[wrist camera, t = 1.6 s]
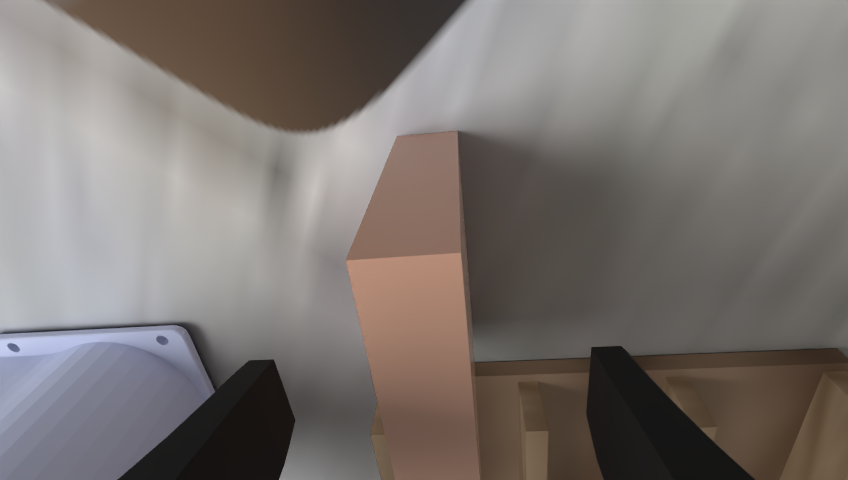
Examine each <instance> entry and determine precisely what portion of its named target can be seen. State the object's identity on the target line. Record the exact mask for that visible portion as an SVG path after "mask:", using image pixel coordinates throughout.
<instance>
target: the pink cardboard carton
mask: <svg viewBox="0 0 848 480" xmlns="http://www.w3.org/2000/svg"><path fill="white" fill-rule="evenodd" d="M346 264H347V268H348V273H349V277H350V282H351V286H352V290H353V295H354V299H355V304H356V308H357V313H358V317H359V322H360V326H361V331H362V335H363V340H364V344H365V349H366V353H367V358H368V362H369V366H370V371H371V375H372V380H373V384H374V389H375V393H376V398H377V402H378V407H379V411H380V416H381V420H382V425H383V429H384V434H385V438H386V443H387V447H388V451H389V456H390V460H391V465H392V469H393V474H394V478H395V480H481V467H480V450H479V432H478V415H477V397H476V380H475V362H474V345H473V327H472V314H471V301H470V288H469V275H468V262H467V249H466V236H465V223H464V209H463V196H462V183H461V170H460V157H459V144H458V131H449V132H439V133H428V134H417V135H407V136H397V137H396V140H395V142H394V145H393V147H392V149H391V152H390V154H389V157H388V159H387V162H386V164H385V166H384V169H383V171H382V174H381V176H380V179H379V181H378V184H377V186H376V188H375V191H374V193H373V196H372V198H371V201H370V203H369V205H368V208H367V210H366V213H365V215H364V218H363V220H362V222H361V225H360V227H359V230H358V232H357V235H356V237H355V239H354V242H353V244H352V247H351V249H350V252H349V254H348V256H347V259H346Z"/></svg>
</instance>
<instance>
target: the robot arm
mask: <svg viewBox="0 0 848 480" xmlns="http://www.w3.org/2000/svg"><path fill="white" fill-rule="evenodd" d="M163 336H164V337H163ZM165 337H166V338H165ZM586 416H587V420H588V424H589V429H590V433H591V438H592V442H593V446H594V450H595V454H596V458H597V462H598V465H599V468H600V471H601V473H602V476H603V479H604V480H755V479H754V478H753V477H752V476H751V475H750V474H749V473H747V472H746V471H745V470H744V469H743V468H742V467H741V466H740V465H739V464H738V463H736V462H735V461H734V460H733V459H732V458H731V457H730V456H729V455H728V454H727V453H725V452H724V451H723V450H722V449H721V448H720V447H719V446H718V445H717V444H716V443H715V442H714V441H713V440H712V439H711V438H710V437H708V436H707V435H706V434H705V433H704V432H703V431H702V430H701V429H700V428H699V427H698V426H697V425H696V424H695V423H694V422H693V421H692V420H691V419H690V418H689V417H688V416H687V415H686V414H685V413H684V412H683V411H682V410H681V409H680V408H679V407H678V406H677V405H676V404H675V403H674V402H673V401H672V400H671V399H670V398H669V397H668V396H667V395H666V393H665V392H664V391H663V390H662V389H661V388H660V387H659V386H658V385H657V384H656V383H655V382H654V381H653V380H652V379H651V378H650V376H649V375H648V374H647V373H646V372H645V371H644V370H643V369H642V368H641V367H640V366H639V364H638V363H637V362H636V361H635V360H634V359H633V358H632V357H631V356H630V355H629V353H628V352H627V351H626V350H625V349H624V348H623V347H621V346H610V347H591V360H590V372H589V384H588V396H587V408H586ZM294 423H295V418H294V415H293V413H292V410H291V407H290V404H289V401H288V398H287V396H286V393H285V390H284V387H283V384H282V382H281V379H280V376H279V373H278V370H277V367H276V365H275V362H274V360H250V361H248V362H247V363H246V364H245V365H244V366H242V367H241V368H240V369H239V370H238V371H237V372H236V373H235V374H234V375H233V376H231V377H230V378H229V379H228V380H227V381H226V382H225V383H224V384H223V385H222V386H221V387H220V388H219V389H218V390H217V391H216V392H215V390H214V388H213V386H212V384H211V382H210V379H209V377H208V375H207V373H206V371H205V368H204V366H203V364H202V362H201V360H200V357H199V355H198V353H197V351H196V348H195V346H194V344H193V342H192V340H191V337H190V335H189V333H188V332H187V330H185V329H184V328H183V327H180V326H176V325H169V326H149V327H130V328H111V329H92V330H72V331H53V332H34V333H15V334H0V480H279V478H280V475H281V472H282V469H283V467H284V464H285V460H286V456H287V452H288V449H289V445H290V441H291V436H292V432H293V428H294Z"/></svg>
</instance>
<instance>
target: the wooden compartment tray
mask: <svg viewBox="0 0 848 480" xmlns="http://www.w3.org/2000/svg"><path fill="white" fill-rule="evenodd" d="M632 358H633V359H634V360H635V361H636V362H637V363H638V364H639V366H640V367H641V368H642V369H643V370H644V371H645V372H646V373H647V374H648V375H649V376H650V378H651V379H652V380H653V381H654V382H655V383H656V384H657V385H658V386H659V387H660V388H661V389H662V390H663V391H664V392H665V393H666V395H667V396H668V397H669V398H670V399H671V400H672V401H673V402H674V403H675V404H676V405H677V406H678V407H679V408H680V409H681V410H682V411H683V412H684V413H685V414H686V415H687V416H688V417H689V418H690V419H691V420H692V421H693V422H694V423H695V424H696V425H697V426H698V427H699V428H700V429H701V430H702V431H703V432H704V433H705V434H706V435H707V436H708V437H710V438H711V439H712V440H713V441H714V442H715V443H716V444H717V445H718V446H719V447H720V448H721V449H722V450H723V451H724V452H725V453H727V454H728V455H729V456H730V457H731V458H732V459H733V460H734V461H735V462H736V463H738V464H739V465H740V466H741V467H742V468H743V469H744V470H745V471H746V472H747V473H749V474H750V475H751V476H752V477H753V478H754V479H755V480H848V358H847V357H846V356H845V355H843V354H842V353H841V352H840V351H839V350H838V349H812V350H786V351H761V352H735V353H710V354H685V355H659V356H634V357H632ZM590 360H591V358H583V359H558V360H532V361H507V362H482V363H475V380H476V397H477V415H478V432H479V450H480V467H481V480H604V479H603V476H602V473H601V471H600V468H599V465H598V462H597V458H596V454H595V450H594V446H593V442H592V438H591V433H590V429H589V424H588V420H587V416H586V408H587V396H588V384H589V372H590ZM371 439H372V443H373V447H374V451H375V455H376V460H377V464H378V468H379V472H380V476H381V480H395V478H394V474H393V469H392V465H391V460H390V456H389V451H388V447H387V443H386V438H385V434H384V429H383V425H382V420H381V416H380V411H379V407H378V402H377V404H376V410H375V415H374V420H373V425H372V430H371Z"/></svg>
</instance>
